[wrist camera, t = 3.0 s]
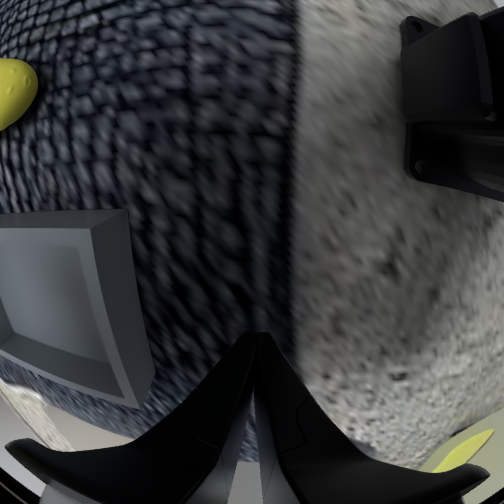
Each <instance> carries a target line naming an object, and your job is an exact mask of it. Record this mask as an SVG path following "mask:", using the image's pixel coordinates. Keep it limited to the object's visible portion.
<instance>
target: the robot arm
mask: <svg viewBox="0 0 504 504" xmlns="http://www.w3.org/2000/svg"><path fill="white" fill-rule="evenodd" d="M412 25H413V26H414V27H415V28H416V29H417V30H418V32H417V31H415V30H414V29H413V27H412ZM401 29H402V37H403V46H404V49H403V50H402V51H401V64H402V85H403V116H404V117H405V119H406V142H405V157H404V169H405V172H406V174H407V175H408V176H409V177H410V178H411V179H414V180H417V181H421V182H426V183H431V184H435V185H440V186H445V187H449V188H453V189H457V190H461V191H465V192H469V193H473V194H477V195H481V196H484V197H488V198H491V199H495V200H498V201H501V202H504V6H503V7H500V8H498V9H495V10H493V11H490V12H488V13H485V14H483V15H481V16H478V15H477V14H475V13H474V12H469V13H467V14H465V15H463V16H461V17H459V18H457V19H455V20H453V21H451V22H449V23H448V24H446V25H444V26H442V27H438V26H436V25H434V24H431V23H429V22H427V21H424V20H422V19H420V18H417V17H414V16H408V17H407V18H405V19H404V20H403V21H402V22H401ZM418 160H419V161H420V163H421V170H420V171H419V172H418V173H417V171H416V169H415V165H416V162H417V161H418ZM256 337H257V340H256ZM255 354H256V357H255ZM254 371H255V373H254ZM253 386H254V406H255V418H256V430H257V441H258V452H259V463H260V474H261V485H262V495H263V504H465V501H464V498H463V496H464V495H465V494H467V493H468V492H470V491H471V490H473V489H474V488H476V487H477V486H478V485H480V484H481V483H482V482H484V481H485V480H486V479H487V478H488V477H489V476H490V473H489V472H488V471H487V470H486V469H484V468H482V467H480V466H477V465H473V464H468V463H466V464H463V465H461V466H458V467H456V468H454V469H452V470H449V471H446V472H441V473H428V472H421V471H417V470H412V469H408V468H404V467H400V466H396V465H392V464H389V463H385V462H381V461H378V460H375V459H373V458H371V457H369V456H368V455H366V454H365V453H363V452H362V451H361V450H360V449H359V448H358V447H357V446H356V445H355V444H354V443H353V442H352V441H351V440H350V439H349V438H348V437H347V436H346V435H345V434H344V433H343V432H342V431H341V430H340V429H339V428H338V427H337V426H336V425H335V424H334V423H333V422H332V421H331V419H330V418H329V417H328V416H327V415H326V414H325V413H324V411H323V410H322V409H321V407H320V406H319V405H318V403H317V402H316V401H315V399H314V398H313V396H312V395H311V394H310V392H309V391H308V389H307V388H306V386H305V385H304V383H303V382H302V380H301V379H300V377H299V376H298V375H297V373H296V372H295V370H294V369H293V367H292V366H291V364H290V363H289V361H288V360H287V358H286V357H285V355H284V354H283V352H282V351H281V349H280V348H279V346H278V345H277V343H276V342H275V340H274V339H273V337H272V336H271V334H270V333H269V332H257V333H256V332H255V331H244V332H243V334H242V335H241V336H240V337H239V338H238V339H237V341H236V342H235V343H234V344H233V345H232V347H231V348H230V349H229V350H228V351H227V352H226V354H225V355H224V356H223V357H222V358H221V359H220V361H219V362H218V363H217V364H216V365H215V366H214V368H213V369H212V370H211V371H210V372H209V373H208V374H207V376H206V377H205V378H204V379H203V380H202V381H201V382H200V383H199V385H198V386H197V387H196V389H194V390H193V391H192V392H191V393H190V394H189V396H188V397H187V398H186V399H185V400H184V401H183V402H182V403H181V404H180V405H179V406H178V407H176V408H175V409H174V410H173V411H172V412H171V413H169V414H168V415H167V416H166V417H165V418H163V419H162V420H161V421H160V422H158V423H157V424H156V425H154V426H153V427H152V428H151V429H149V430H148V431H147V432H145V433H144V434H143V435H141V436H140V437H139V438H137V439H136V440H134V441H132V442H130V443H128V444H125V445H121V446H115V447H109V448H102V449H94V450H85V451H74V452H62V451H56V450H52V449H49V448H47V447H45V446H43V445H41V444H39V443H38V442H36V441H35V440H33V439H30V438H25V439H18V440H14V441H11V442H9V443H8V444H6V445H5V449H6V450H7V451H8V452H9V453H10V454H11V455H12V456H13V457H14V458H15V459H16V460H17V461H19V462H20V463H21V464H22V465H23V466H24V467H25V468H27V469H28V470H29V471H30V472H31V473H32V474H34V475H35V476H36V477H38V478H39V479H40V480H41V481H43V482H44V483H45V484H46V487H45V489H44V491H43V493H42V495H41V497H39V496H38V495H36V494H35V493H33V492H32V491H30V490H29V489H28V488H26V487H25V486H24V485H22V484H21V483H20V482H18V481H17V480H16V479H14V478H13V477H12V476H11V475H9V474H8V473H7V472H6V471H4V470H3V469H2V468H1V467H0V504H227V502H228V498H229V494H230V490H231V486H232V482H233V478H234V474H235V470H236V466H237V462H238V457H239V453H240V449H241V445H242V440H243V436H244V431H245V427H246V423H247V418H248V413H249V409H250V404H251V400H252V394H253ZM480 504H504V487H503V488H502V489H500V490H499V491H498V492H496V493H495V494H493V495H492V496H490V497H489V498H488V499H486V500H484V501H483V502H481V503H480Z"/></svg>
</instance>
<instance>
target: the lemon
mask: <svg viewBox="0 0 504 504" xmlns="http://www.w3.org/2000/svg"><path fill="white" fill-rule="evenodd" d="M37 90H38V79H37V75H36V73H35V71H34V70H33V68H32V67H31V66H30V65H29V64H27V63H26V62H24V61H21V60H17V59H5V58H0V131H2V130H3V129H5V128H6V127H8V126H9V125H11V124H12V123H14V122H15V121H16V120H18V119H19V118H20V117H21V116H22V115H23V114H24V113H25V112H26V110H27V109H28V108H29V106H30V105H31V103H32V102H33V100H34V98H35V96H36V93H37Z"/></svg>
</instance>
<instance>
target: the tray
mask: <svg viewBox="0 0 504 504" xmlns="http://www.w3.org/2000/svg"><path fill="white" fill-rule="evenodd" d="M0 355H2V356H4V357H6V358H7V359H9V360H11V361H13V362H15V363H17V364H19V365H20V366H22V367H24V368H26V369H28V370H30V371H33V372H35V373H37V374H39V375H41V376H43V377H46V378H48V379H50V380H52V381H55V382H57V383H60V384H62V385H65V386H67V387H70V388H72V389H75V390H78V391H80V392H83V393H86V394H89V395H92V396H95V397H98V398H101V399H104V400H107V401H111V402H114V403H117V404H121V405H125V406H128V407H132V408H136V409H141V407H142V404H143V402H144V400H145V397H146V395H147V393H148V390H149V388H150V386H151V383H152V381H153V379H154V376H155V374H156V371H155V367H154V363H153V360H152V356H151V352H150V348H149V343H148V339H147V335H146V330H145V326H144V321H143V316H142V311H141V306H140V300H139V295H138V289H137V283H136V277H135V270H134V263H133V255H132V247H131V239H130V229H129V218H128V209H92V210H61V211H40V212H23V213H8V214H0Z"/></svg>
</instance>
